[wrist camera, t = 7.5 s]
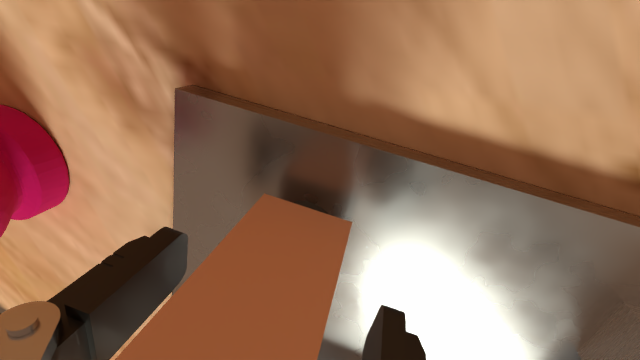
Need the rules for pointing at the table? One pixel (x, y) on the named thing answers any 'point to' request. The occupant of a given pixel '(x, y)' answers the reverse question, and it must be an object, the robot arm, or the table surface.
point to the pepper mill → (28, 168)
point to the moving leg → (254, 291)
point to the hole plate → (417, 237)
